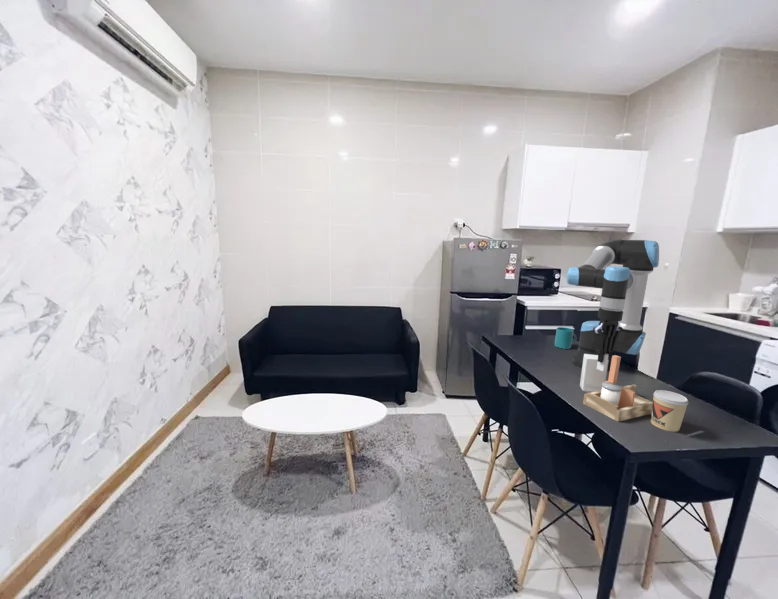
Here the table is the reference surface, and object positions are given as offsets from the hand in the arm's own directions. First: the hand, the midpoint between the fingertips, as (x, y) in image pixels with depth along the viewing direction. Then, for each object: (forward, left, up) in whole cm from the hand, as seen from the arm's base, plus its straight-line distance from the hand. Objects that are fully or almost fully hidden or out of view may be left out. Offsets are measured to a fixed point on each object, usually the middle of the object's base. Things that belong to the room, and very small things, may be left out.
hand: (601, 369), depth 128 cm
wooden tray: (-12, +4, -16) cm, 20 cm away
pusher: (-7, +4, -14) cm, 17 cm away
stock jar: (-2, +4, -15) cm, 15 cm away
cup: (-53, -60, -16) cm, 82 cm away
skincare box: (-12, -11, -16) cm, 23 cm away
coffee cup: (-11, +18, -16) cm, 26 cm away
